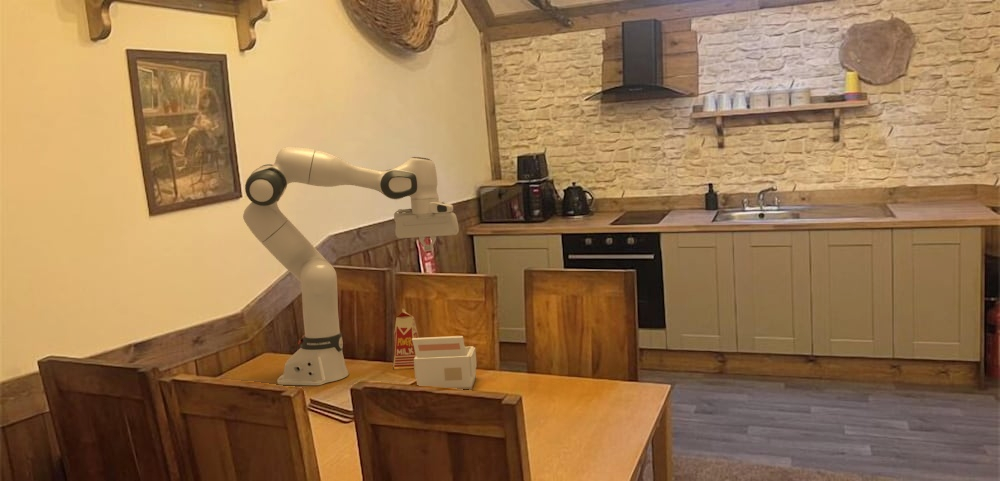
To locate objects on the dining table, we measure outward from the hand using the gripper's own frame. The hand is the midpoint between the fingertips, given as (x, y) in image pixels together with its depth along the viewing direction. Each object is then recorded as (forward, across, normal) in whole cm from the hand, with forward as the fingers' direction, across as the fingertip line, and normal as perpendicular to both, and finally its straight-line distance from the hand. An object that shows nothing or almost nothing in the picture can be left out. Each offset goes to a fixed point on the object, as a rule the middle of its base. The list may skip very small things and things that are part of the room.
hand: (428, 250), depth 234 cm
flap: (+25, +6, -26) cm, 36 cm away
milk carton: (+39, -11, +6) cm, 41 cm away
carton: (+39, +6, -17) cm, 43 cm away
